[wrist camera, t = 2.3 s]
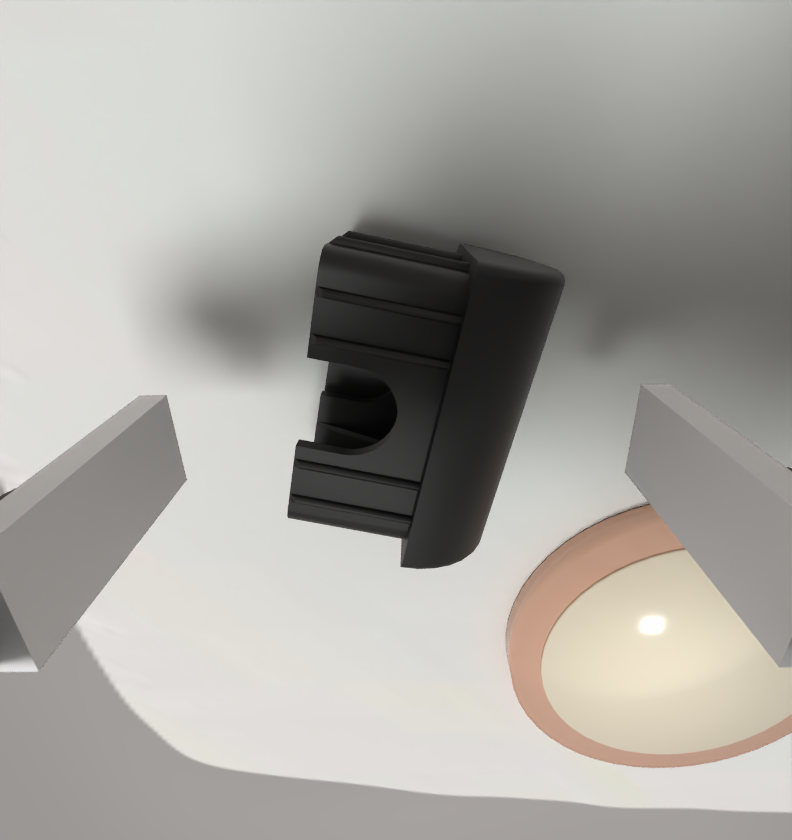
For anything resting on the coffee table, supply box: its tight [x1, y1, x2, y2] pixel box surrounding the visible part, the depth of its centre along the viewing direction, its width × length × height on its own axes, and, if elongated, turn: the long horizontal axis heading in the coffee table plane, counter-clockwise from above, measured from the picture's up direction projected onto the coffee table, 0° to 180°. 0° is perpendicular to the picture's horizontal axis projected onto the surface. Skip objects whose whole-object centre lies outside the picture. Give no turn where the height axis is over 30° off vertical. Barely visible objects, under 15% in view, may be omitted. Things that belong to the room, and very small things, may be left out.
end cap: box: [288, 231, 565, 569], centre depth 17 cm, size 10×7×7 cm
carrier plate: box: [506, 505, 792, 768], centre depth 25 cm, size 17×17×2 cm
